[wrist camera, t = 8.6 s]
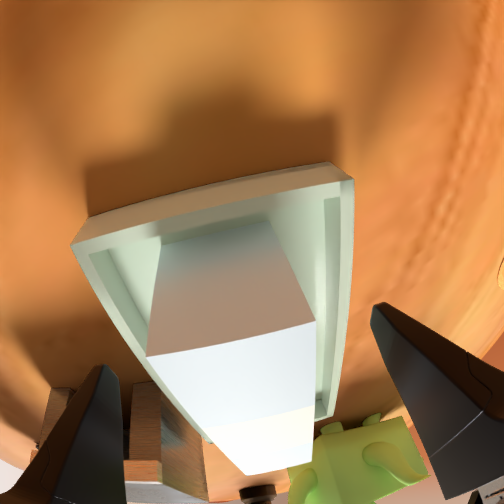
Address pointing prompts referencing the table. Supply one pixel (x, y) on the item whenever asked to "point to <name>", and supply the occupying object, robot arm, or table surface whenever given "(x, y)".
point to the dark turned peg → (258, 494)
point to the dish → (225, 218)
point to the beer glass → (501, 276)
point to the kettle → (357, 464)
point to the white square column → (237, 345)
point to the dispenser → (150, 448)
